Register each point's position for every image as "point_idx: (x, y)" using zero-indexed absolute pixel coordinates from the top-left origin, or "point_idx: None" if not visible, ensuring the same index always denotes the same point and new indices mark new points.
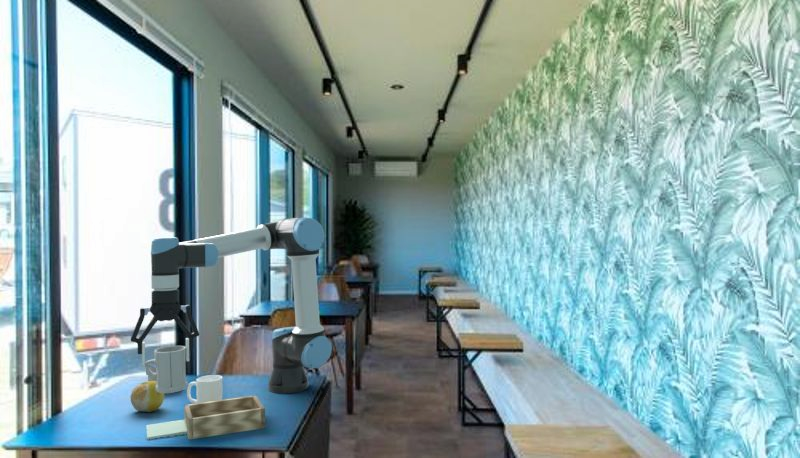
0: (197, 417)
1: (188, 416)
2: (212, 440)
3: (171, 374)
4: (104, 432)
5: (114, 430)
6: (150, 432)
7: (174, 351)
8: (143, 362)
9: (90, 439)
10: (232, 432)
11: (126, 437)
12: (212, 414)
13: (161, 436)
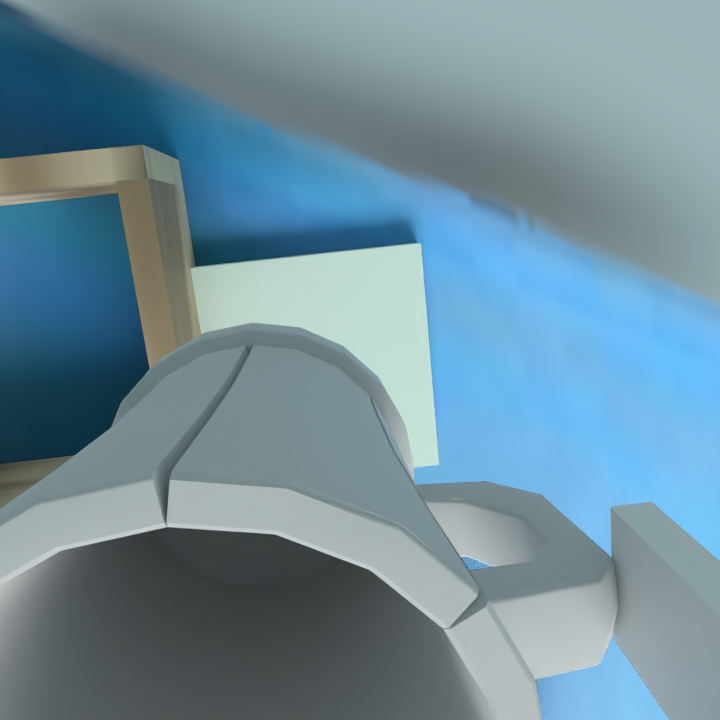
0: (78, 178)
1: (149, 228)
2: (32, 114)
3: (226, 375)
4: (647, 480)
5: (599, 494)
6: (406, 325)
7: (50, 512)
8: (660, 531)
9: (709, 394)
10: None
11: (531, 357)
12: (43, 473)
13: (339, 251)
